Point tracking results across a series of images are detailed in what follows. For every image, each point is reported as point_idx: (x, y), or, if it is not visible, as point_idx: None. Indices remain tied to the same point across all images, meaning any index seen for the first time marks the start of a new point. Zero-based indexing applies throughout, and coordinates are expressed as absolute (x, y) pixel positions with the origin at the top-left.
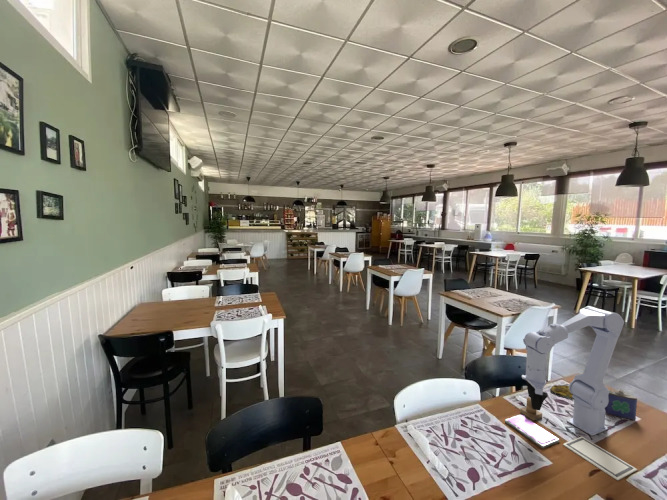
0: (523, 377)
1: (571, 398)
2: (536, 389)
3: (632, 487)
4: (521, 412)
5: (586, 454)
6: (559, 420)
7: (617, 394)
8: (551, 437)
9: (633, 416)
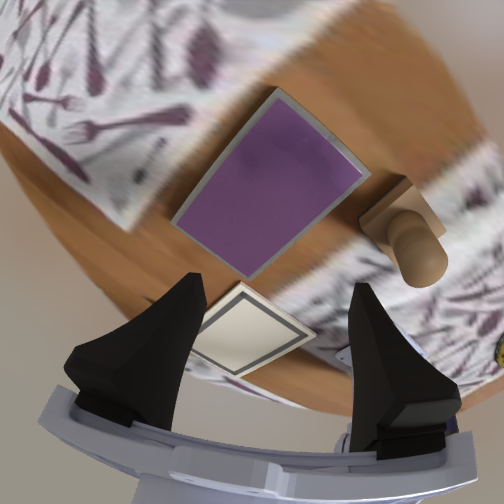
0: (169, 471)
1: (498, 344)
2: (43, 416)
3: None
4: (402, 181)
5: (224, 322)
6: (393, 303)
7: None
8: (237, 262)
9: None
